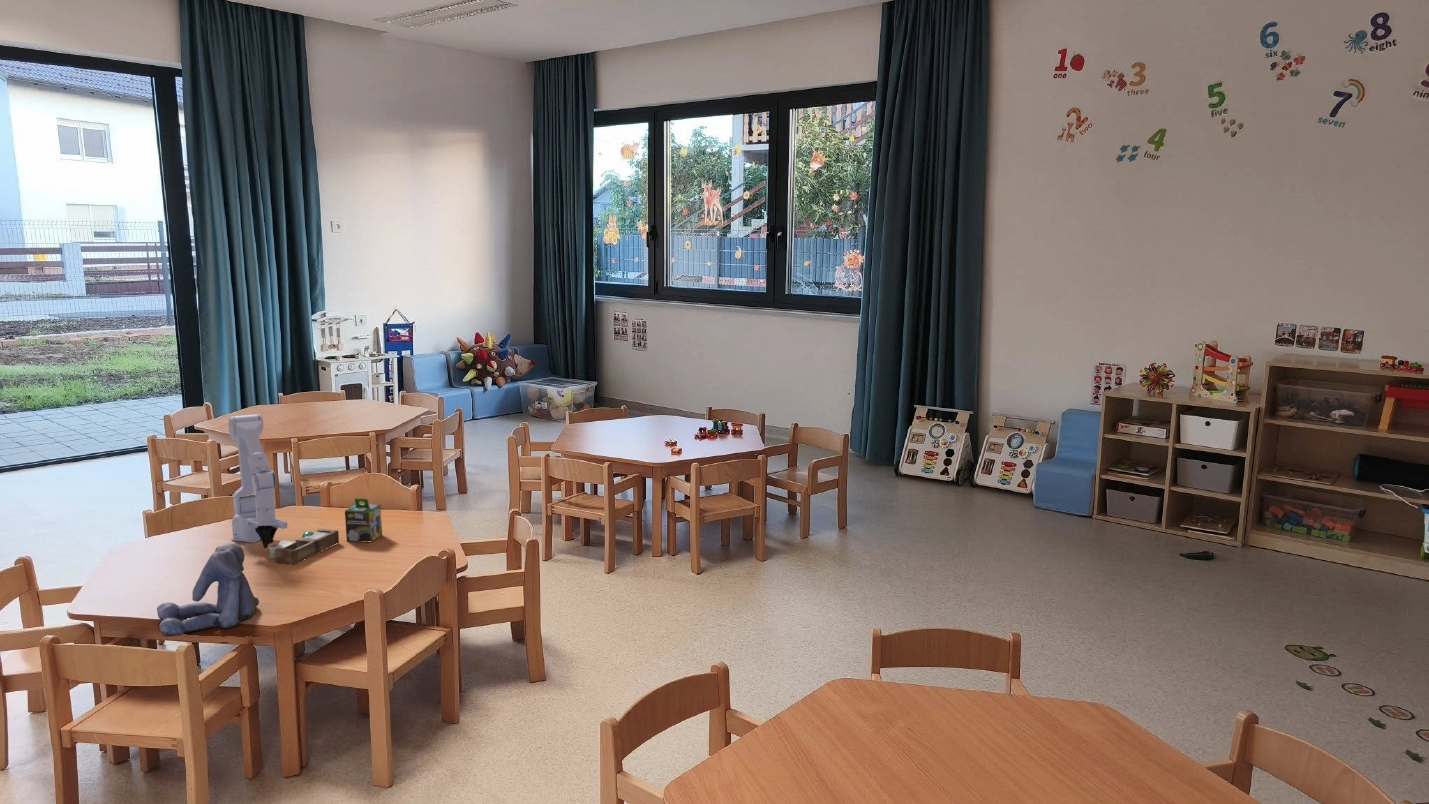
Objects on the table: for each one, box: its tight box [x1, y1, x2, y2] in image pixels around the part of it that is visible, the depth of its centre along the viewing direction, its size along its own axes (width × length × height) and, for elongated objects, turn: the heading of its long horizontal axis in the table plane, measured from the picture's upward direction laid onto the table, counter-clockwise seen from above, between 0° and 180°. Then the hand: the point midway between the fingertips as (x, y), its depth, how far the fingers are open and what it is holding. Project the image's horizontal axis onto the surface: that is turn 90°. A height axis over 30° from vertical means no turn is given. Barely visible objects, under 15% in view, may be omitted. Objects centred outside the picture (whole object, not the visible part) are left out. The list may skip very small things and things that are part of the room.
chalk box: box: [344, 497, 383, 542], centre depth 323 cm, size 9×9×15 cm
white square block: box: [266, 539, 297, 559], centre depth 304 cm, size 7×7×5 cm
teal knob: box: [301, 530, 329, 539], centre depth 314 cm, size 7×7×5 cm
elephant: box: [156, 542, 260, 637], centre depth 252 cm, size 21×25×21 cm
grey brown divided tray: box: [274, 528, 340, 566], centre depth 308 cm, size 7×23×5 cm, turn 166°
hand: (267, 547), depth 305 cm, fingers closed
